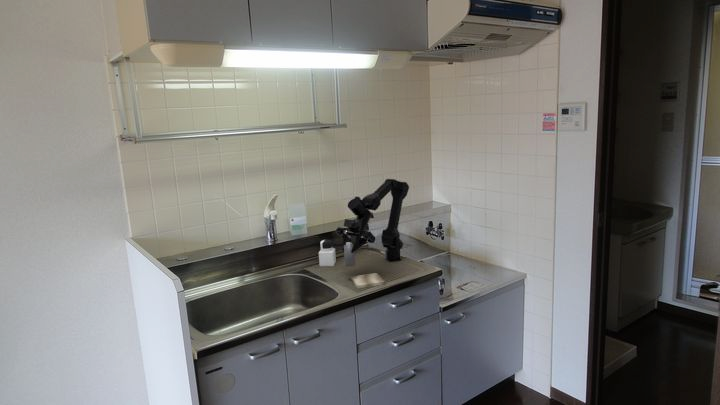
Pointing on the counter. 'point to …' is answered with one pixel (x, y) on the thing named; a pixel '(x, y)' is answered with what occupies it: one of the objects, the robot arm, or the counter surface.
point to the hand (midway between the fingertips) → (347, 251)
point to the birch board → (367, 280)
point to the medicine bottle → (327, 253)
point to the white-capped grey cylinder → (349, 255)
